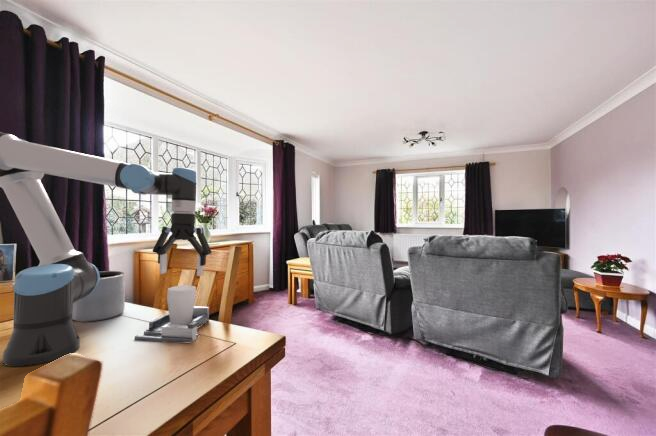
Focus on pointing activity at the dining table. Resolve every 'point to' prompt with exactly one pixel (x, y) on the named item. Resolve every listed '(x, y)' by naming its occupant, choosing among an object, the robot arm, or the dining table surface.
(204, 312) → the grey rail tray
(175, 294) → the cup
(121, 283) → the planter
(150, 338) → the guide
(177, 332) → the grey flat block
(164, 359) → the dining table surface
